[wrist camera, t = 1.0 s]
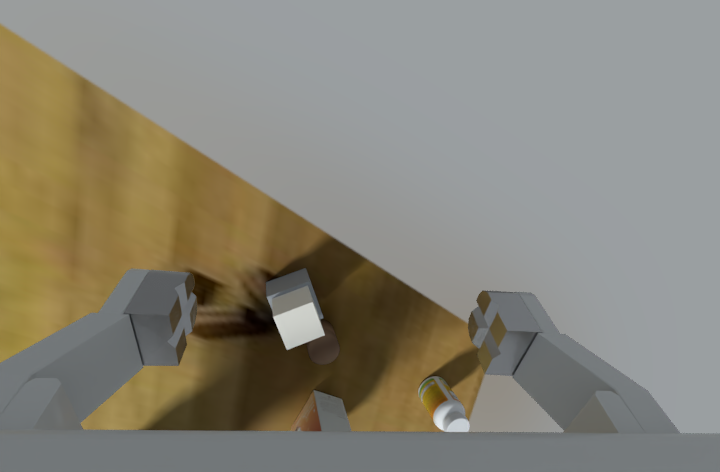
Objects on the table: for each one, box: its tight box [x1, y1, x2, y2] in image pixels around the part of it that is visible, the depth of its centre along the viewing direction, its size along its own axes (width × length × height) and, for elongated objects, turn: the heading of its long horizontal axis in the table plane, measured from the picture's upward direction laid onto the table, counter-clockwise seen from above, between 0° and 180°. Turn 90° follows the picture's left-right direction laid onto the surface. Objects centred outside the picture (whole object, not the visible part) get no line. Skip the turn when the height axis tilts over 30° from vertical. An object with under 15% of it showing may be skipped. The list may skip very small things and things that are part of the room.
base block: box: [266, 268, 323, 319], centre depth 54 cm, size 6×6×5 cm
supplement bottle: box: [418, 376, 470, 432], centre depth 63 cm, size 5×5×10 cm
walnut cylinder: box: [306, 320, 340, 365], centre depth 57 cm, size 4×4×5 cm
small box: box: [291, 390, 351, 431], centre depth 58 cm, size 8×6×10 cm
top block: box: [272, 286, 325, 350], centre depth 49 cm, size 5×5×5 cm
